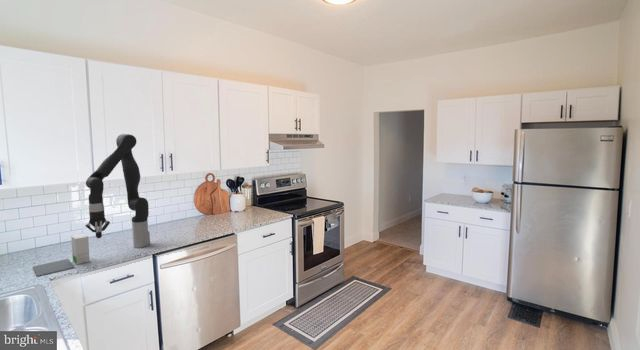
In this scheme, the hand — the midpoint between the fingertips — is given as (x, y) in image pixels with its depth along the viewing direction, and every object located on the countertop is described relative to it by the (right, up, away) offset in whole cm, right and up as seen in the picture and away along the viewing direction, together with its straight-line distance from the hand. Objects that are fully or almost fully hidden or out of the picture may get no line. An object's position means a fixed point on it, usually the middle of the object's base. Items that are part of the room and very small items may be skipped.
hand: (98, 237), depth 198 cm
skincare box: (-7, -13, -5) cm, 16 cm away
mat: (-15, -14, -15) cm, 26 cm away
